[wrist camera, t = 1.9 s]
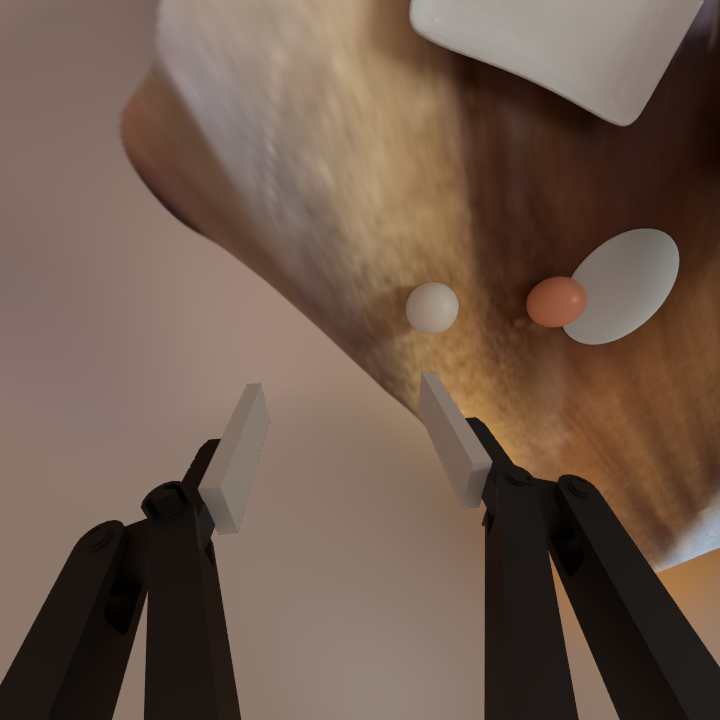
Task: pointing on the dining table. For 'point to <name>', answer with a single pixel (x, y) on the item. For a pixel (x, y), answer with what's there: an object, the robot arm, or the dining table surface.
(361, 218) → the dining table surface
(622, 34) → the salad plate
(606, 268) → the oval plate
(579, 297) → the coral ball
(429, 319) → the ivory ball
